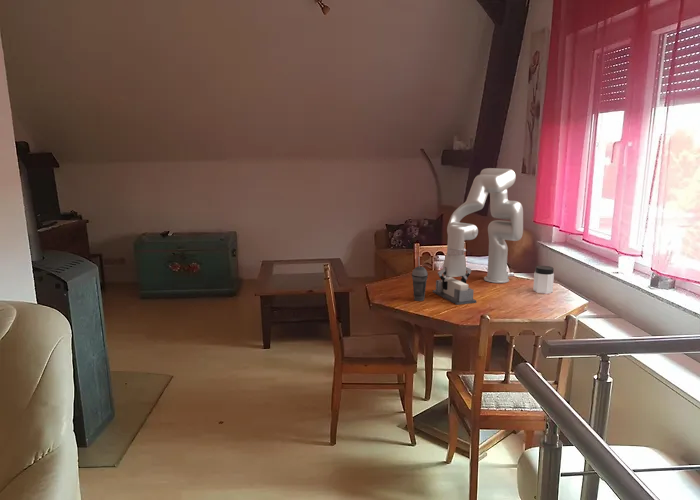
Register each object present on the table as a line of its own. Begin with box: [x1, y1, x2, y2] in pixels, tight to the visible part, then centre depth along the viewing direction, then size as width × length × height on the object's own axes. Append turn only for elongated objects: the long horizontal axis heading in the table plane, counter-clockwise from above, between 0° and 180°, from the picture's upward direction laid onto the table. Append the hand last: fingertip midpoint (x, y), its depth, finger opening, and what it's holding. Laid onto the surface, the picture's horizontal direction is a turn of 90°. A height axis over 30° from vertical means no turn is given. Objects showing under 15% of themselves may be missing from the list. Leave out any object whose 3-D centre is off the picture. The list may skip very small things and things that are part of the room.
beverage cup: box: [411, 256, 428, 302], centre depth 239 cm, size 7×7×20 cm
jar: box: [532, 265, 555, 295], centre depth 254 cm, size 9×8×12 cm
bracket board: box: [432, 279, 477, 306], centre depth 245 cm, size 10×22×6 cm, turn 20°
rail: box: [440, 277, 469, 297], centre depth 244 cm, size 4×17×7 cm, turn 20°
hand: (454, 288), depth 244 cm, fingers open, 9 cm apart
